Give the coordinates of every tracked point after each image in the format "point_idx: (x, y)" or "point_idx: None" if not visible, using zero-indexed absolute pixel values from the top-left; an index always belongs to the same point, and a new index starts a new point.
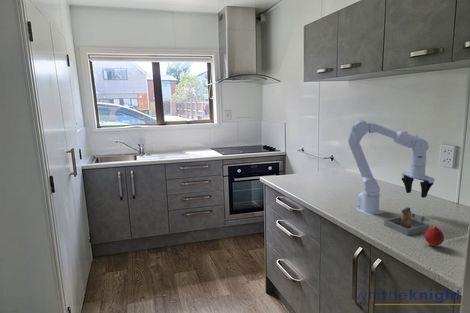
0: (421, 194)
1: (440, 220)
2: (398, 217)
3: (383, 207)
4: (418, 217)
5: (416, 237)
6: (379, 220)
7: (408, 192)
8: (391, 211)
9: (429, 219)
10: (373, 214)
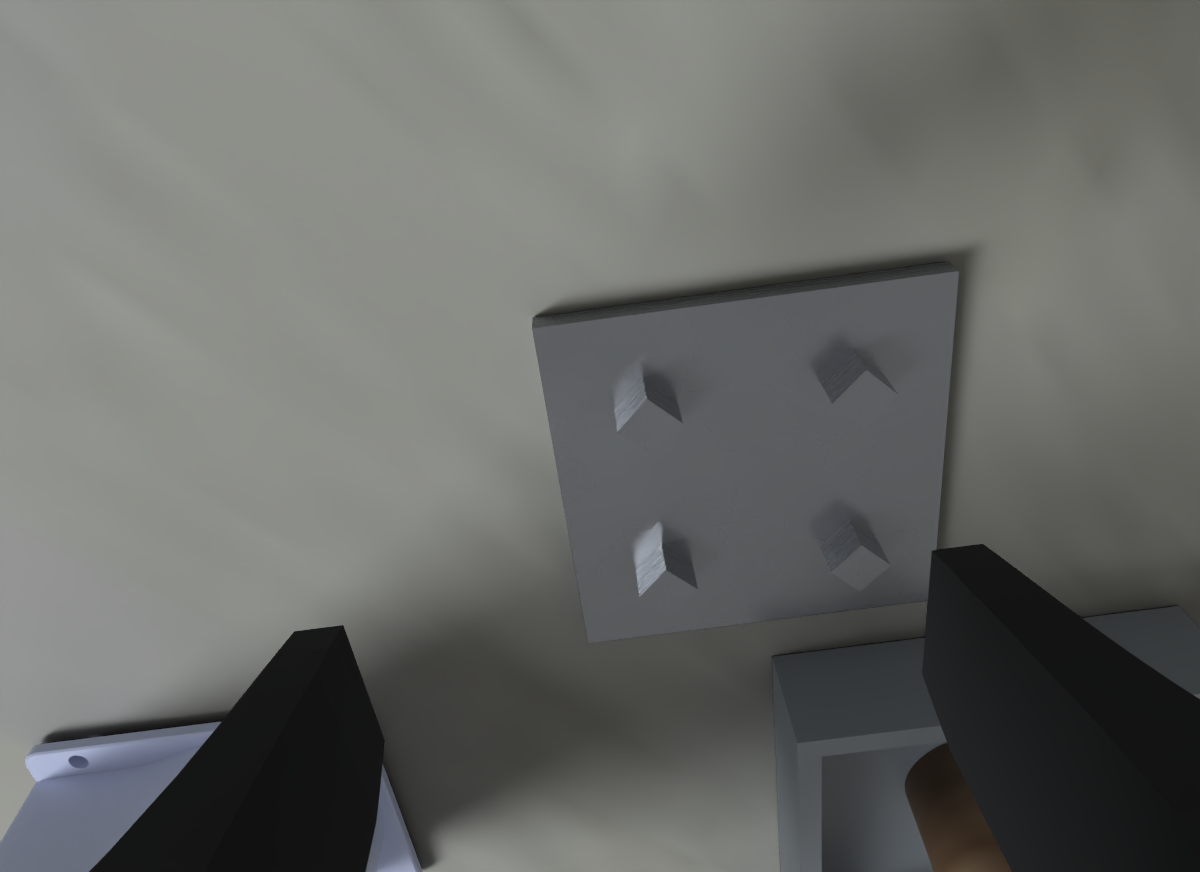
0: (972, 775)
1: (1017, 27)
2: (818, 841)
3: (31, 536)
4: (758, 387)
5: None
6: (592, 851)
7: (368, 724)
8: (279, 540)
9: (928, 280)
10: (408, 852)
